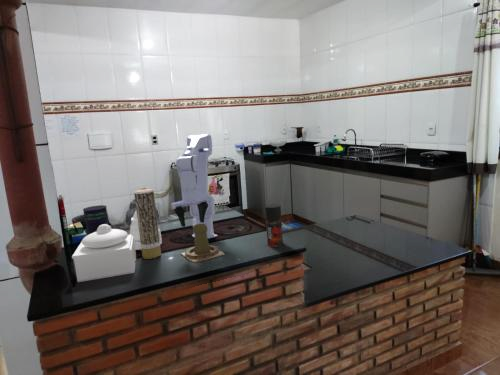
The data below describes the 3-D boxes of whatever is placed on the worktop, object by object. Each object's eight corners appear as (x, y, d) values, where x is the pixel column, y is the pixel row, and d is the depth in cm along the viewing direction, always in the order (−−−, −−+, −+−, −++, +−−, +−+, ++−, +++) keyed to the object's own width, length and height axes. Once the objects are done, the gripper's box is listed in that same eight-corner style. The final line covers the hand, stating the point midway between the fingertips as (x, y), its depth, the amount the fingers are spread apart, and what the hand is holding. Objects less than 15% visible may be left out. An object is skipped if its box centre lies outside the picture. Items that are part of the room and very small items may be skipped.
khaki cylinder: (207, 256, 129) (204, 226, 128) (191, 256, 131) (188, 226, 129) (212, 250, 135) (210, 221, 133) (197, 250, 137) (194, 222, 135)
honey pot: (168, 242, 151) (163, 200, 149) (140, 251, 142) (134, 207, 139) (151, 238, 160) (146, 198, 157) (124, 246, 151) (118, 204, 148)
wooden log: (164, 253, 137) (157, 188, 134) (154, 260, 131) (146, 192, 127) (149, 253, 140) (141, 189, 136) (138, 259, 133) (130, 192, 130)
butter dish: (134, 273, 120) (128, 226, 118) (75, 283, 116) (68, 235, 114) (136, 256, 137) (131, 215, 135) (85, 264, 133) (78, 222, 130)
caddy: (180, 254, 135) (180, 250, 135) (209, 246, 141) (209, 242, 141) (194, 263, 125) (193, 258, 125) (224, 254, 131) (224, 249, 131)
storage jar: (91, 244, 157) (86, 211, 155) (84, 240, 164) (79, 208, 162) (114, 239, 163) (109, 206, 161) (106, 235, 171) (102, 204, 168)
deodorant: (265, 246, 137) (262, 207, 135) (270, 241, 142) (267, 204, 140) (280, 247, 135) (277, 207, 132) (285, 242, 140) (282, 204, 138)
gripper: (174, 192, 127) (178, 230, 130) (211, 186, 135) (214, 222, 137) (167, 190, 133) (171, 226, 135) (203, 185, 141) (206, 219, 143)
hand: (192, 224), depth 137 cm, fingers open, 7 cm apart
